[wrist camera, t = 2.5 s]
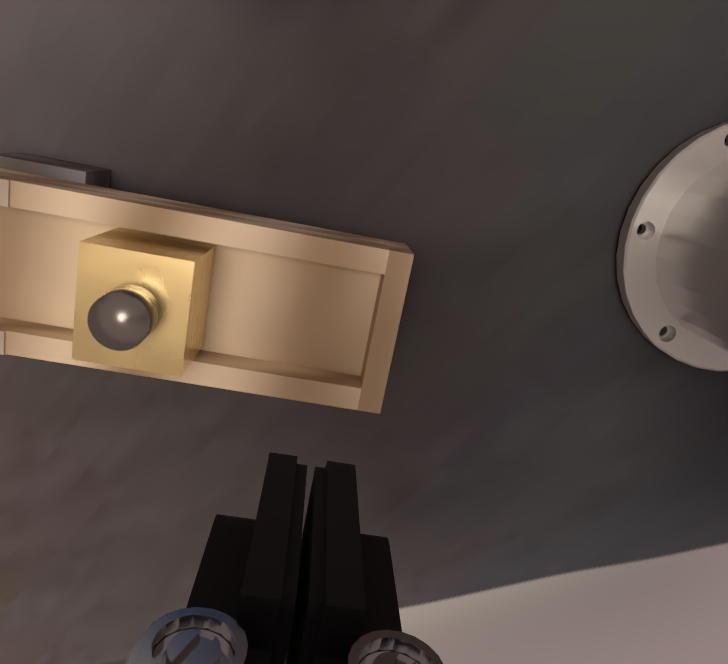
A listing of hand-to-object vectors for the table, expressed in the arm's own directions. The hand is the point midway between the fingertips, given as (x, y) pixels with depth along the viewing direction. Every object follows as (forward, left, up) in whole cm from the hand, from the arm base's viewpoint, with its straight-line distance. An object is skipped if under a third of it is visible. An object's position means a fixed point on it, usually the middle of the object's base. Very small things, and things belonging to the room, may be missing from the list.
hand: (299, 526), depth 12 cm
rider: (+7, 0, -15) cm, 17 cm away
